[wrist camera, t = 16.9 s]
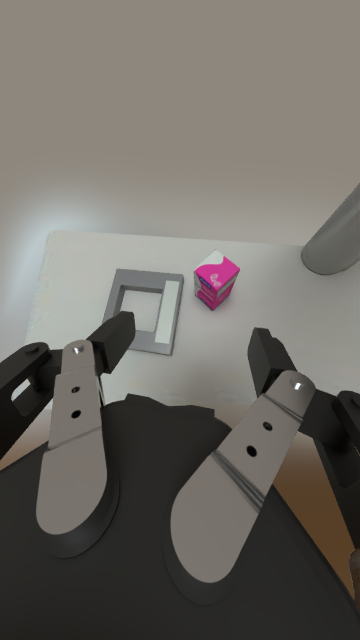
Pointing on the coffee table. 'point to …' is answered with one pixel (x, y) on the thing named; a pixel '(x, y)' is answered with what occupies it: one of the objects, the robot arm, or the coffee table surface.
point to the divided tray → (168, 307)
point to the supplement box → (214, 279)
